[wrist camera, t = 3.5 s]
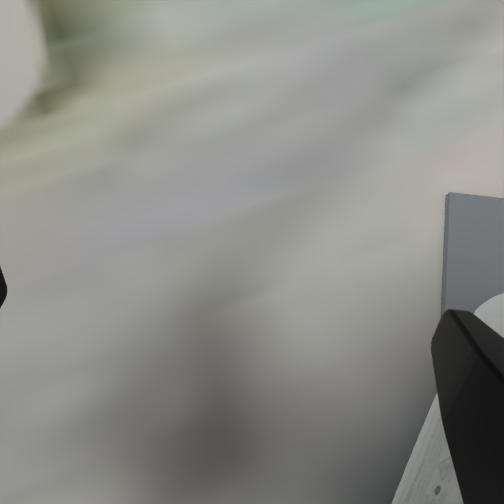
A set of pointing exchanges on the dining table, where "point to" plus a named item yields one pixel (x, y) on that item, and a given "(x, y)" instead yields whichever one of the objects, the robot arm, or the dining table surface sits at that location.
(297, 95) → the dining table surface
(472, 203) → the mat
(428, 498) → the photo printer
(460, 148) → the dining table surface
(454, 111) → the dining table surface
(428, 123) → the dining table surface
